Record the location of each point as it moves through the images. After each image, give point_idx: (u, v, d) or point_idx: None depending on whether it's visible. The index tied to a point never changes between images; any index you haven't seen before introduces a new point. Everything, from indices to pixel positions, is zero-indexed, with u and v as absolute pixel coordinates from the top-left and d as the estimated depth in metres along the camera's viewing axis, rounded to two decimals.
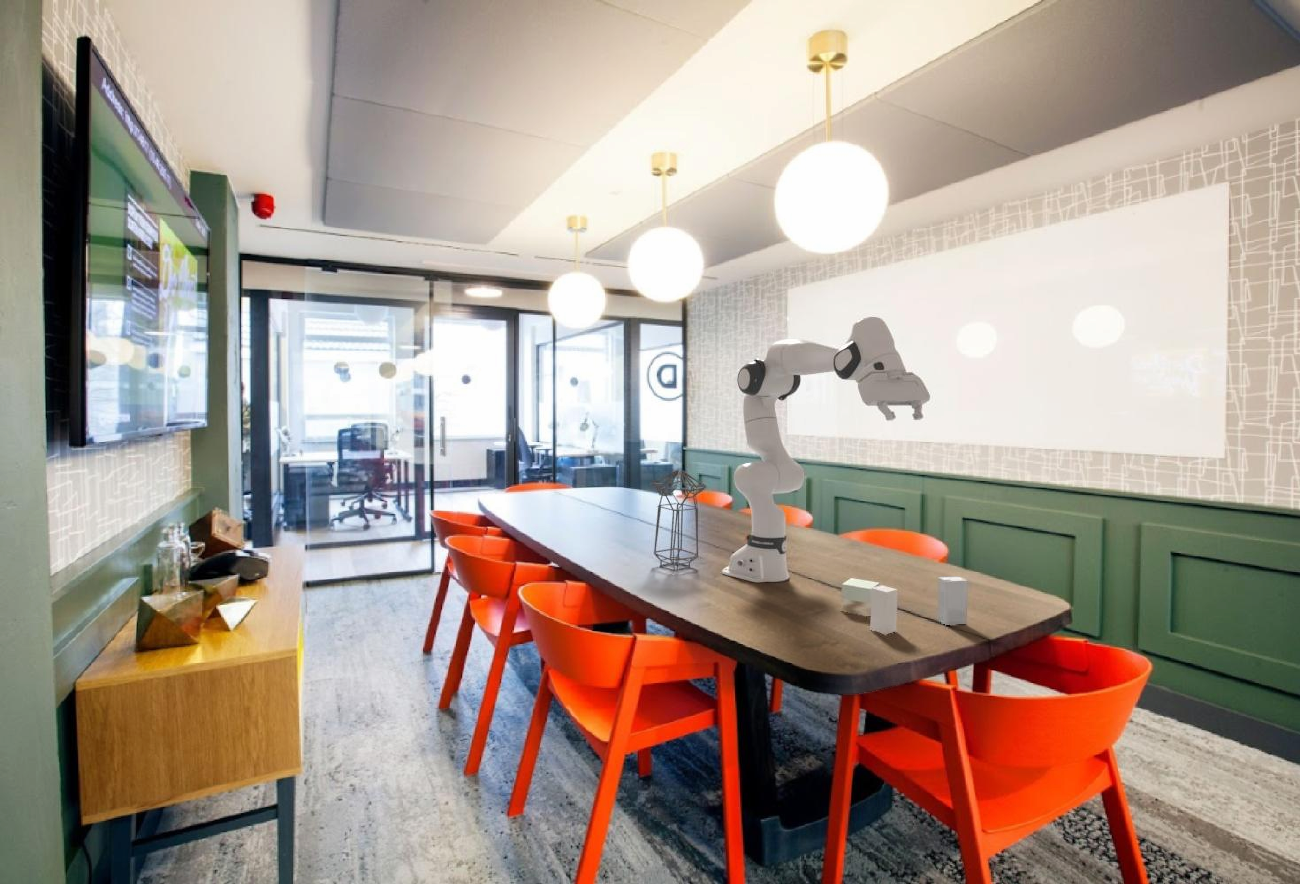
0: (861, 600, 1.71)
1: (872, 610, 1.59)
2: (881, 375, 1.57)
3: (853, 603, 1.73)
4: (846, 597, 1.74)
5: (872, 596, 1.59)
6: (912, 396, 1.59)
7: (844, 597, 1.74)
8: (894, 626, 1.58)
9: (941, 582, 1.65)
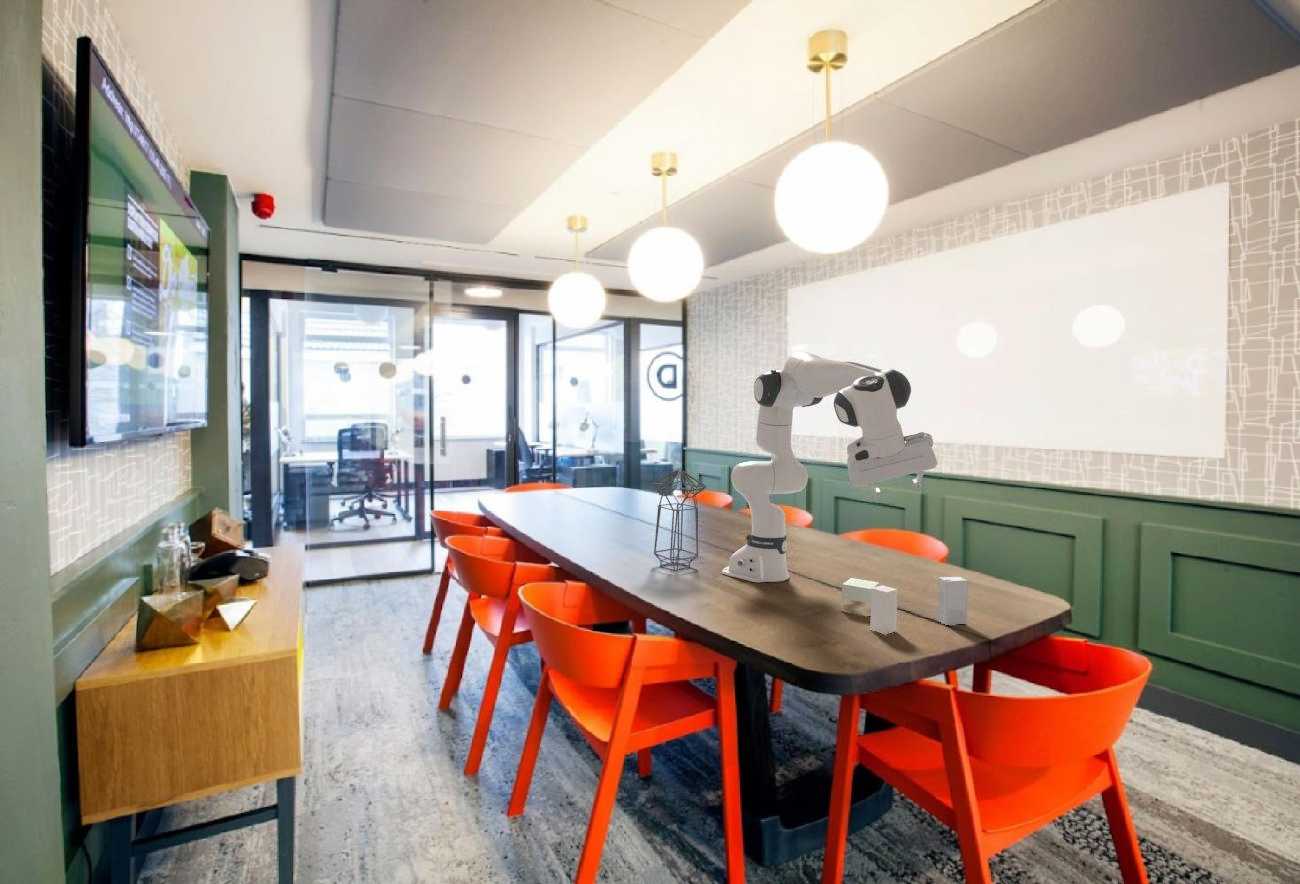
0: (861, 600, 1.71)
1: (872, 610, 1.59)
2: (866, 462, 1.49)
3: (853, 603, 1.73)
4: (846, 597, 1.74)
5: (872, 596, 1.59)
6: (909, 471, 1.49)
7: (844, 597, 1.74)
8: (894, 626, 1.58)
9: (941, 582, 1.65)
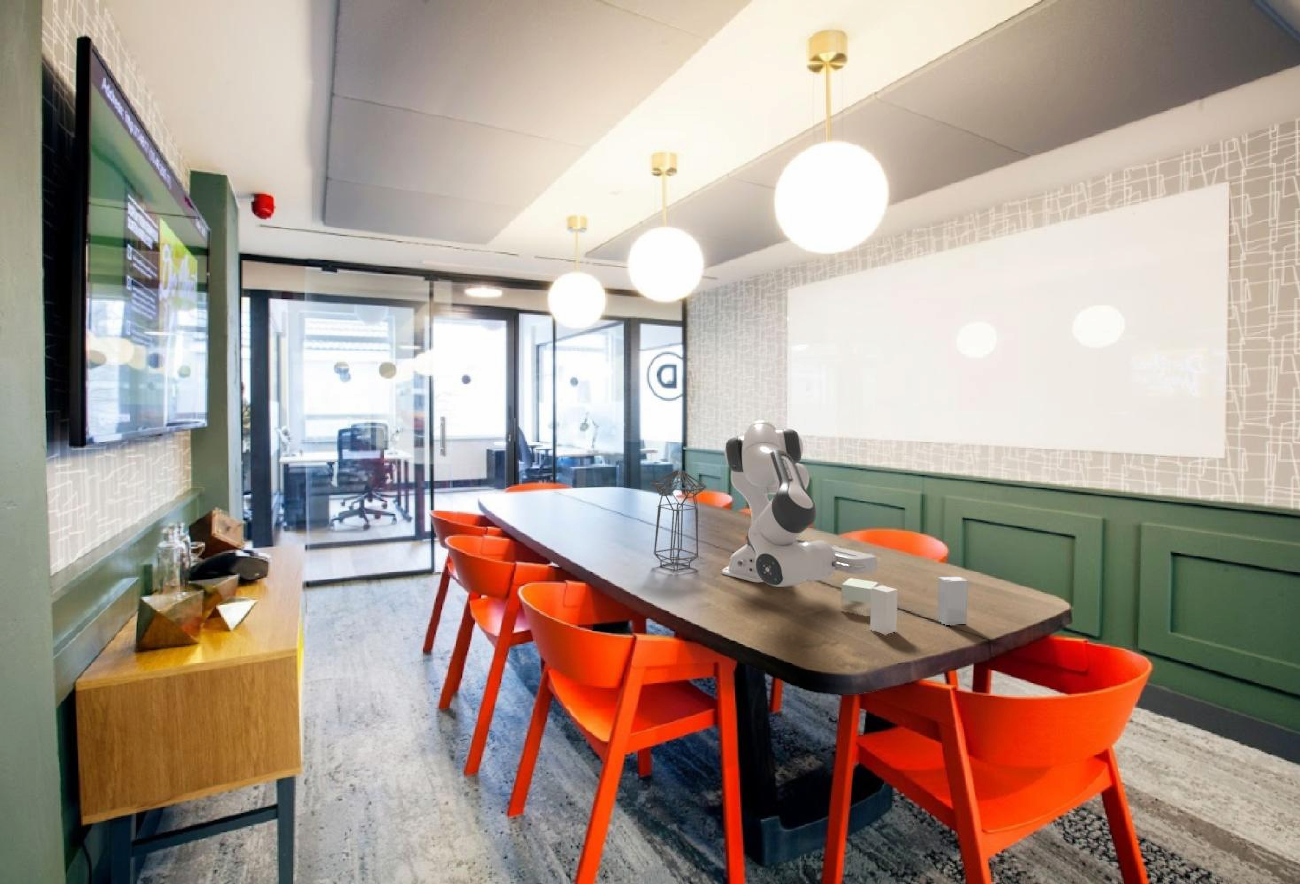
0: (861, 600, 1.71)
1: (872, 610, 1.59)
2: None
3: (852, 603, 1.73)
4: (846, 597, 1.74)
5: (872, 596, 1.59)
6: None
7: (844, 597, 1.74)
8: (894, 626, 1.58)
9: (941, 582, 1.65)
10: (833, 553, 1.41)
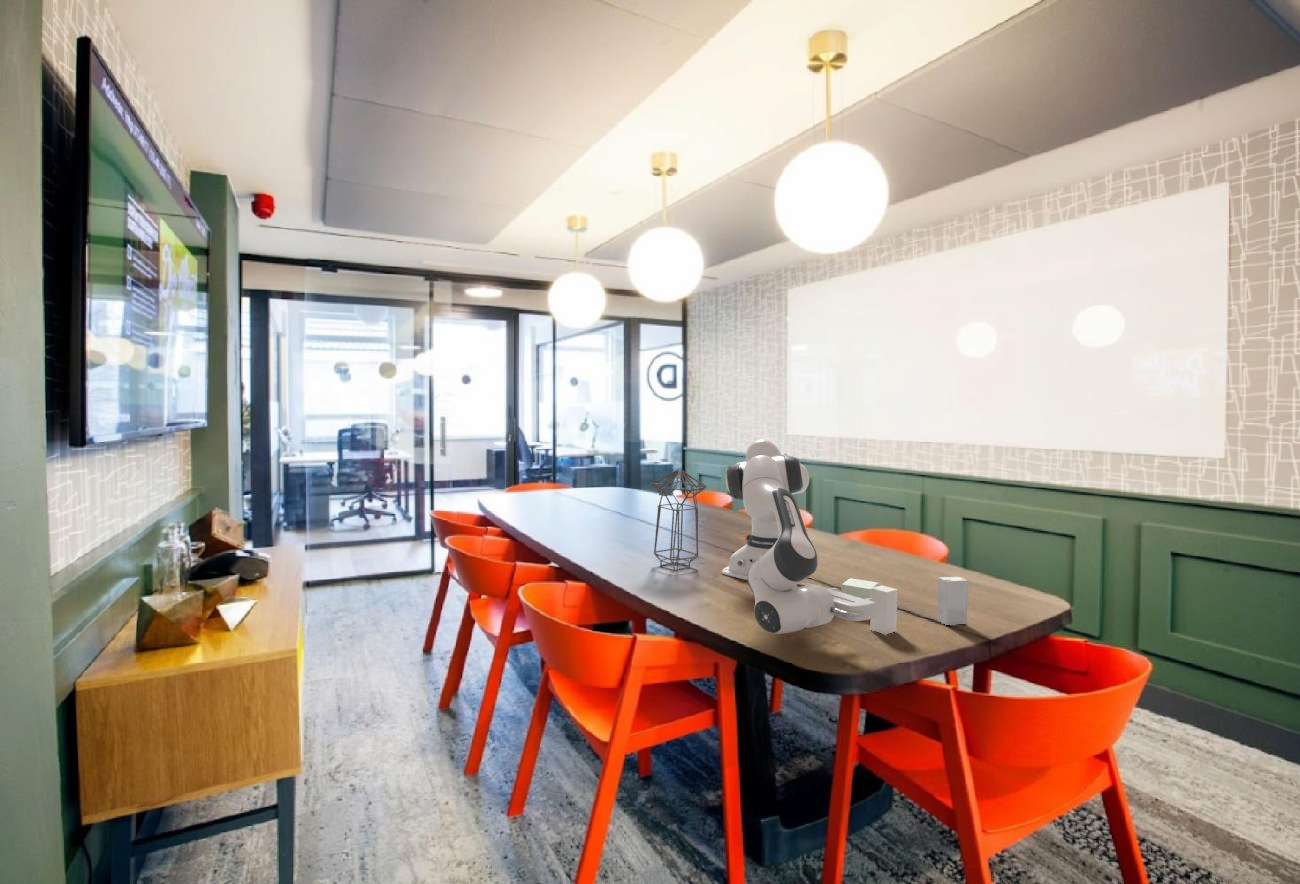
0: None
1: None
2: None
3: None
4: None
5: (872, 596, 1.59)
6: None
7: None
8: (894, 626, 1.58)
9: (941, 582, 1.65)
10: (831, 599, 1.41)
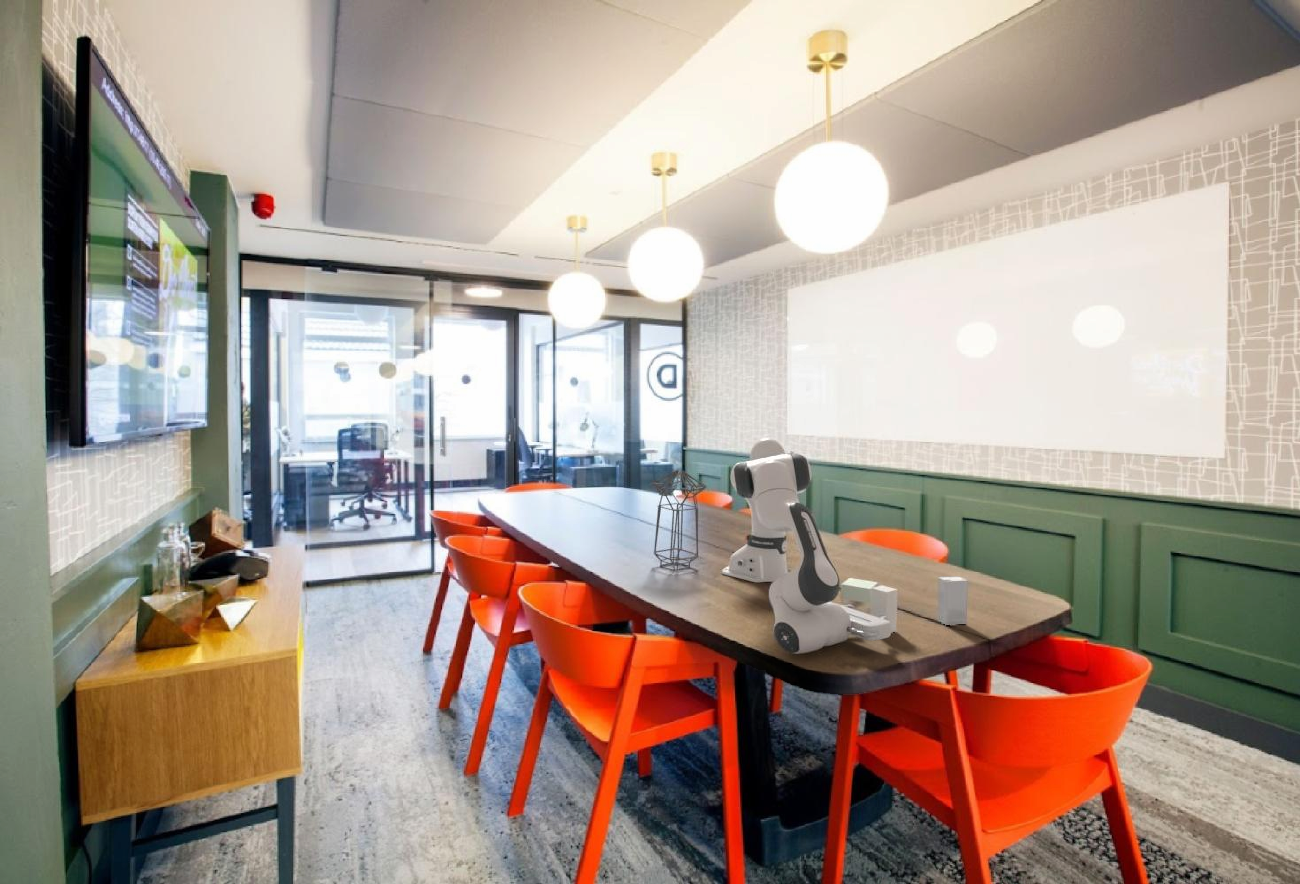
0: (860, 600, 1.71)
1: (872, 610, 1.59)
2: None
3: (852, 603, 1.73)
4: (845, 597, 1.74)
5: (872, 596, 1.59)
6: None
7: (843, 597, 1.74)
8: (894, 626, 1.58)
9: (941, 582, 1.65)
10: (848, 618, 1.46)
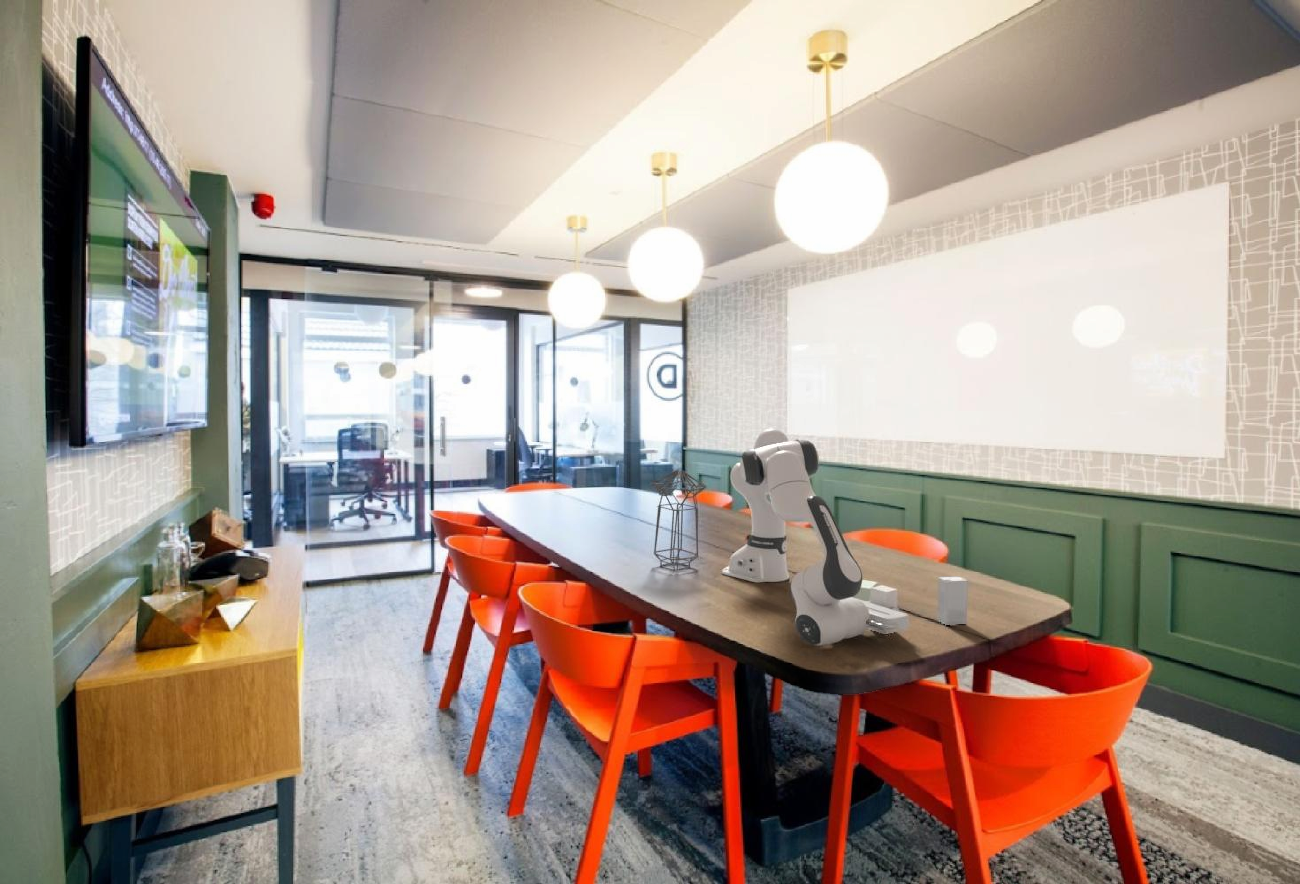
0: None
1: None
2: None
3: None
4: None
5: (872, 596, 1.59)
6: None
7: None
8: None
9: (941, 582, 1.65)
10: (867, 611, 1.49)
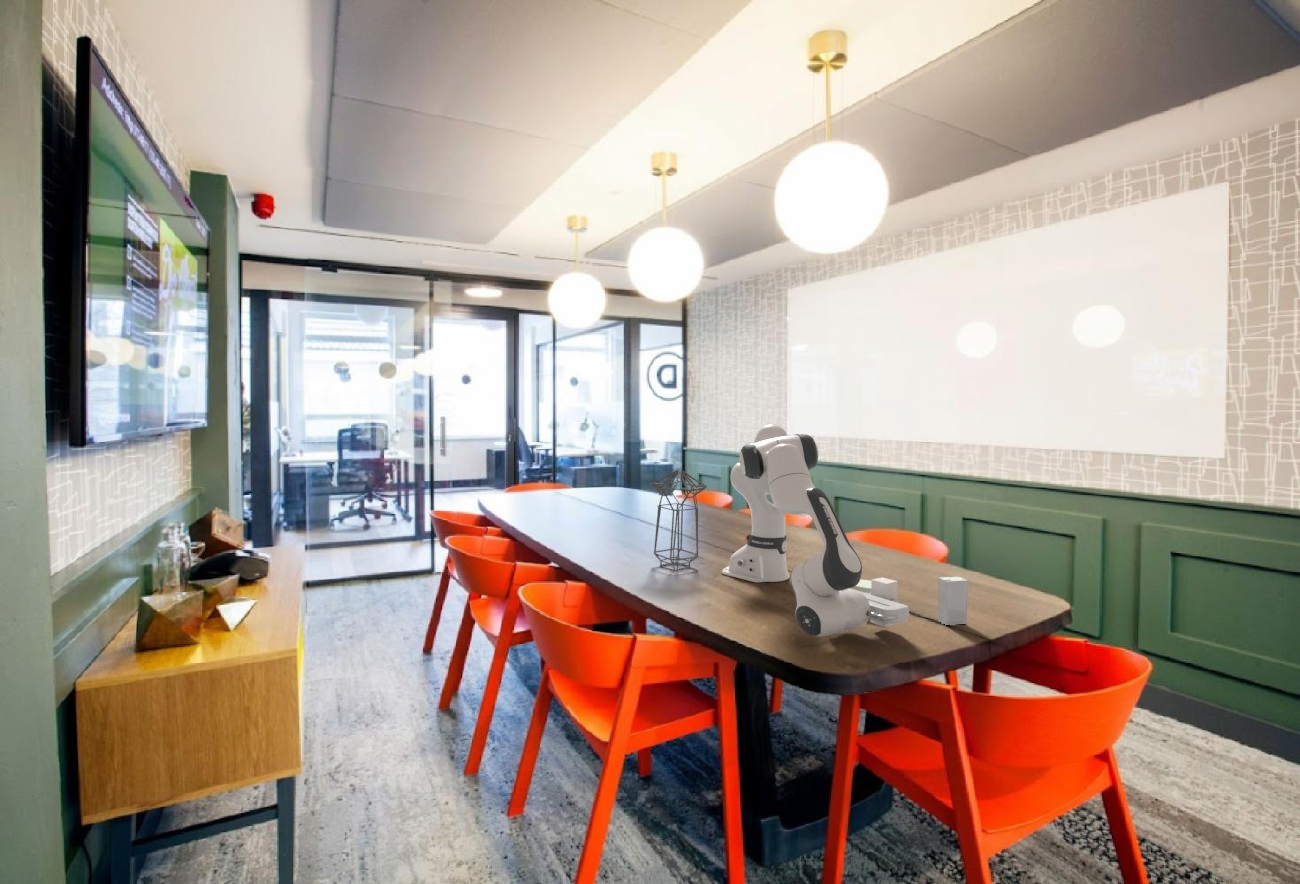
0: None
1: None
2: None
3: None
4: None
5: (872, 588, 1.59)
6: None
7: None
8: None
9: (941, 582, 1.65)
10: (867, 603, 1.49)
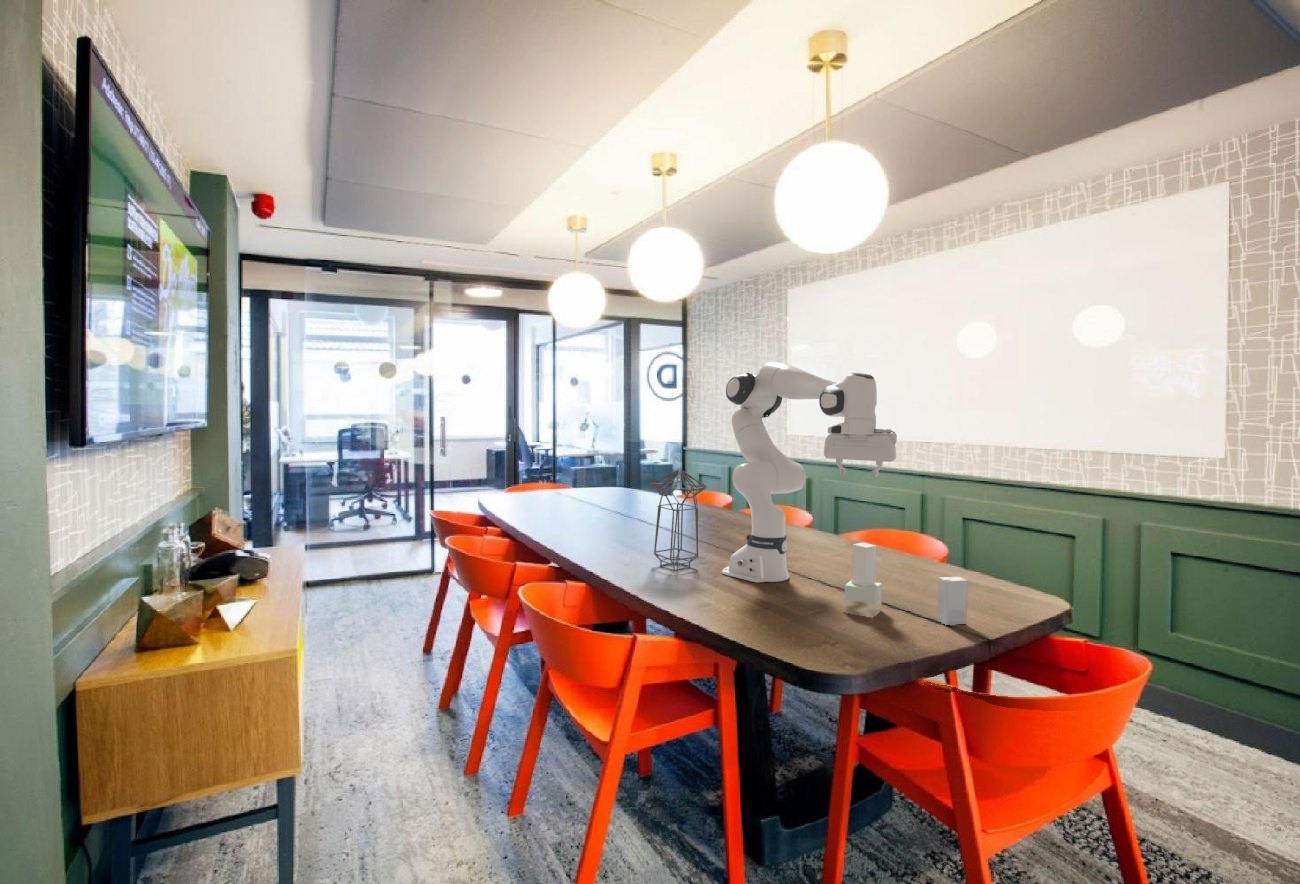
0: (865, 601, 1.70)
1: (853, 564, 1.75)
2: (838, 437, 1.84)
3: (855, 604, 1.72)
4: (849, 598, 1.73)
5: (853, 551, 1.74)
6: (869, 457, 1.80)
7: (847, 598, 1.73)
8: (873, 579, 1.73)
9: (941, 582, 1.65)
10: None
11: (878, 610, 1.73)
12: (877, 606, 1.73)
